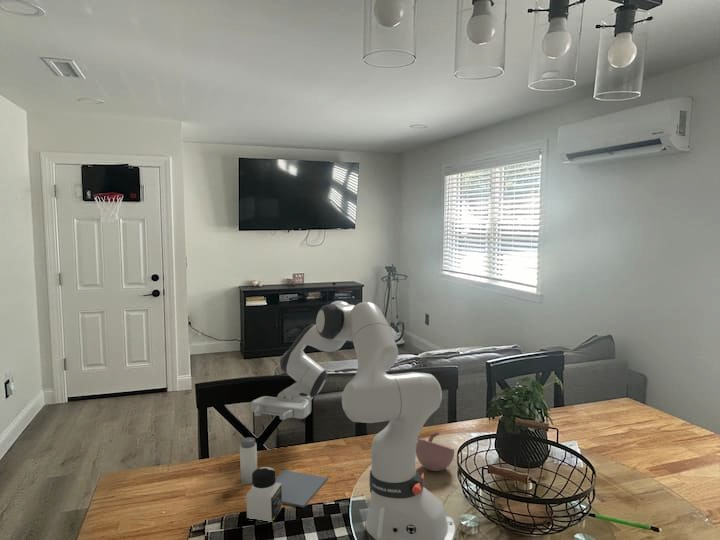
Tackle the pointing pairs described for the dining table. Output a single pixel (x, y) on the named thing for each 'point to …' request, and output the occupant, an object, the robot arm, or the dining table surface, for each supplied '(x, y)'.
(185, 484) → the dining table surface
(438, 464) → the mortar and pestle
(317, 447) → the dining table surface
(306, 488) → the slate mat
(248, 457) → the white pill bottle
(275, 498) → the medicine bottle
